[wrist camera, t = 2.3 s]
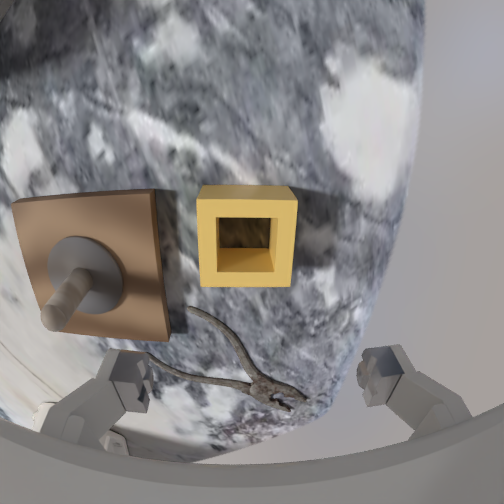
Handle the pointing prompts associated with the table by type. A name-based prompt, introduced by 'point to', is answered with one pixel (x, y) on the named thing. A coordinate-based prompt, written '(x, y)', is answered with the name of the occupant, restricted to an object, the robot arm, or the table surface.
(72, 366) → the table surface
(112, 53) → the table surface
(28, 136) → the table surface
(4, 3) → the alarm clock
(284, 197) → the block with square hole
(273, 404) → the pliers
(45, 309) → the post stand
